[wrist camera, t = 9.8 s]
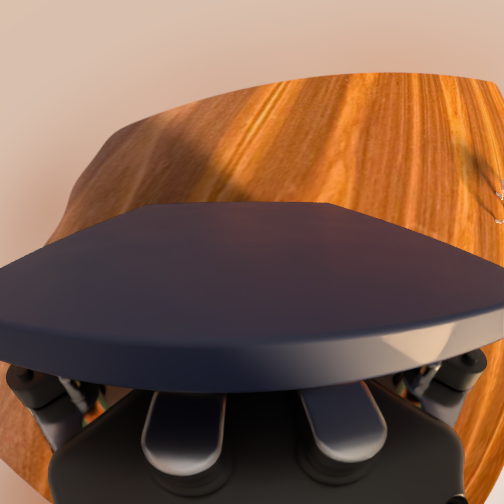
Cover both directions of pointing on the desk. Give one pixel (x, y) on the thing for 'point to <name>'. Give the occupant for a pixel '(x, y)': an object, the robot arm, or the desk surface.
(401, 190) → the desk surface
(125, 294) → the lid
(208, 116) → the desk surface
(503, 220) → the miniature stool
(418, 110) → the desk surface
